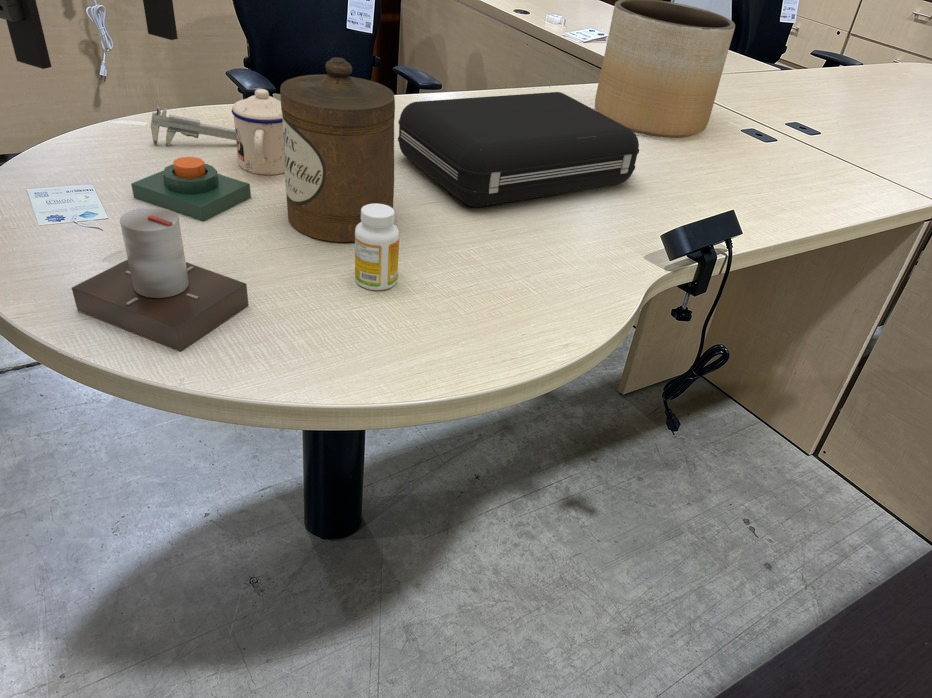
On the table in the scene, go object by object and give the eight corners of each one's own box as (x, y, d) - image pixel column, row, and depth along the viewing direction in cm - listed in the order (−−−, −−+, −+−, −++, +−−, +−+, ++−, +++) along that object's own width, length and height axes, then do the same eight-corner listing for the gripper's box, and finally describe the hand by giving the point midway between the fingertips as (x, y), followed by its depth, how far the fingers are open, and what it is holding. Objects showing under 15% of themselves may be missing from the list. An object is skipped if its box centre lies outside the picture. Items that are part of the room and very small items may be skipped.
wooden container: (281, 199, 109) (271, 40, 95) (379, 196, 114) (383, 45, 101) (295, 246, 98) (286, 75, 85) (403, 240, 103) (411, 79, 90)
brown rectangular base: (77, 311, 81) (70, 286, 79) (152, 270, 89) (148, 247, 87) (180, 351, 77) (176, 326, 75) (248, 305, 86) (246, 282, 84)
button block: (133, 198, 103) (128, 170, 100) (184, 176, 111) (181, 150, 108) (203, 222, 100) (200, 194, 98) (251, 197, 108) (248, 171, 105)
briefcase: (536, 126, 150) (543, 76, 144) (638, 188, 131) (652, 133, 125) (374, 142, 131) (375, 85, 125) (466, 217, 112) (472, 153, 106)
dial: (121, 288, 80) (106, 217, 75) (160, 267, 84) (147, 199, 79) (163, 303, 79) (150, 233, 74) (199, 282, 83) (190, 213, 78)
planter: (724, 144, 157) (759, 33, 144) (615, 138, 151) (640, 22, 137) (677, 105, 176) (704, 4, 163) (578, 98, 170) (597, -7, 156)
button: (168, 174, 102) (166, 162, 101) (189, 166, 105) (187, 154, 104) (191, 182, 101) (190, 170, 100) (211, 173, 104) (210, 161, 103)
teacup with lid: (241, 152, 120) (234, 78, 113) (299, 156, 122) (295, 84, 115) (229, 181, 111) (221, 103, 104) (291, 186, 113) (287, 109, 106)
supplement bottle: (388, 267, 97) (390, 198, 91) (403, 288, 93) (407, 217, 88) (349, 273, 95) (348, 202, 89) (363, 294, 91) (363, 222, 85)
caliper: (153, 147, 118) (147, 107, 114) (154, 144, 118) (147, 105, 115) (286, 147, 125) (284, 110, 121) (285, 145, 125) (283, 108, 122)
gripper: (-109, -313, 40) (4, 91, 52) (211, -250, 59) (237, 35, 71) (-205, -328, 41) (-72, 67, 54) (136, -262, 60) (174, 19, 73)
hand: (104, 49), depth 63 cm, fingers open, 13 cm apart
